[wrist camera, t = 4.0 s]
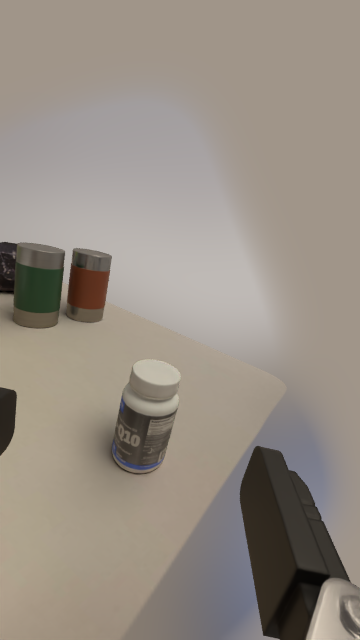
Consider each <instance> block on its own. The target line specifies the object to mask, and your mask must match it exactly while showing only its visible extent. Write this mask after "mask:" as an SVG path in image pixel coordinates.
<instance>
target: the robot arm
mask: <svg viewBox="0 0 360 640" xmlns="http://www.w3.org/2000/svg"><path fill="white" fill-rule="evenodd" d="M16 399H17V395H16V392H15V391H14V390H10V389H6V388H1V387H0V456H1V454H2V453H3V452H4V451H5V450H6V448H7V447H8V445H9V443H10V442H11V439H12V437H13V434H14V428H15V414H16ZM240 503H241V509H242V514H243V521H244V527H245V533H246V538H247V544H248V549H249V556H250V561H251V567H252V573H253V579H254V585H255V590H256V596H257V602H258V608H259V613H260V619H261V625H262V631H263V635H264V636H268V637H273V638H278V639H280V640H360V588H359V587H357V586H356V585H354V584H352V583H351V582H350V580H349V577H348V575H347V573H346V571H345V569H344V566H343V564H342V562H341V560H340V558H339V555H338V553H337V551H336V549H335V546H334V544H333V542H332V540H331V538H330V535H329V533H328V531H327V529H326V526H325V524H324V522H323V521H322V520H321V515H320V513H319V511H318V509H317V507H315V503H314V500H313V498H312V496H311V493H310V491H309V489H308V487H307V485H306V484H305V483H304V482H303V481H302V480H301V478H300V477H299V476H298V475H297V473H296V472H294V471H290V470H288V467H287V465H286V462H285V460H284V457H283V455H282V453H281V452H280V451H277V450H273V449H268V448H264V447H260V446H256V447H255V449H254V451H253V453H252V456H251V458H250V461H249V464H248V466H247V469H246V472H245V474H244V477H243V480H242V484H241V489H240Z"/></svg>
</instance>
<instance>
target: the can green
mask: <svg viewBox="0 0 360 640" xmlns="http://www.w3.org/2000/svg"><path fill="white" fill-rule="evenodd" d="M64 256H65V251H64V250H62V249H59V248H56V247H51V246H47V245H41V244H34V243H18V244H17V256H16V266H15V286H14V314H13V320H14V322H15V323H17V324H19V325H21V326H25V327H30V328H47V327H52V326H54V325H56V324H57V323H58V316H59V309H60V300H61V291H62V281H63V271H64V267H63V266H64Z"/></svg>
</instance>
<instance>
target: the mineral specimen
mask: <svg viewBox="0 0 360 640" xmlns="http://www.w3.org/2000/svg"><path fill="white" fill-rule="evenodd" d="M16 256H17V244H15V243H8V242H2V243H0V291H14V286H15V266H16Z"/></svg>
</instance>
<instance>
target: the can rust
mask: <svg viewBox="0 0 360 640" xmlns="http://www.w3.org/2000/svg"><path fill="white" fill-rule="evenodd" d="M111 259H112V256H111V255H109V254H106V253H102V252H99V251H93V250H88V249H80V248H79V249H78V248H76V249H73V255H72V263H71V269H70V279H69V288H68V297H67V309H66V315H67V317H69V318H71V319H73V320H76V321H81V322H98V321H100V320H102V318H103V312H104V306H105V301H106V294H107V287H108V281H109V274H110V265H111Z"/></svg>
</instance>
